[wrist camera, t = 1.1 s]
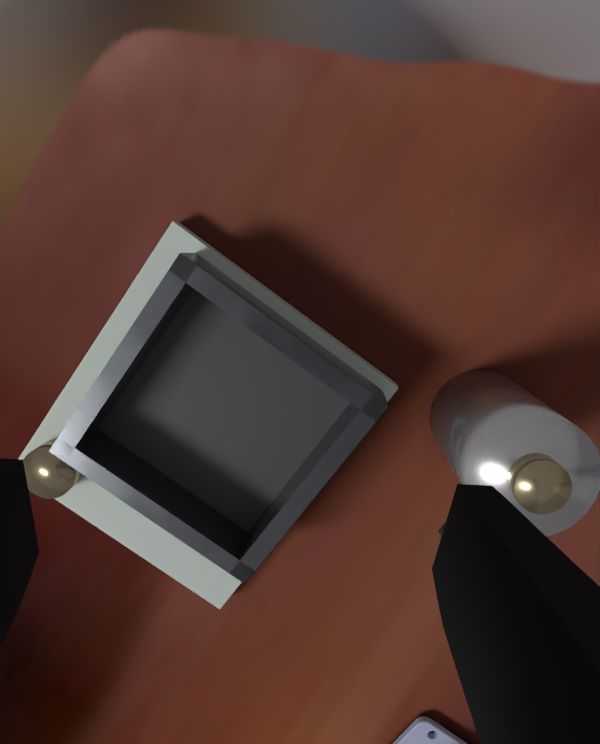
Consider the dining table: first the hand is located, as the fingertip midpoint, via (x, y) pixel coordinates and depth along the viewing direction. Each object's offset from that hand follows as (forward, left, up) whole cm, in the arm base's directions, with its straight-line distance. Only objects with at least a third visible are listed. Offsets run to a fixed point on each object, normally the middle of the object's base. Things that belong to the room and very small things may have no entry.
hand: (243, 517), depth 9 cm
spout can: (-9, -3, -16) cm, 18 cm away
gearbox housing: (+1, +5, -16) cm, 17 cm away
